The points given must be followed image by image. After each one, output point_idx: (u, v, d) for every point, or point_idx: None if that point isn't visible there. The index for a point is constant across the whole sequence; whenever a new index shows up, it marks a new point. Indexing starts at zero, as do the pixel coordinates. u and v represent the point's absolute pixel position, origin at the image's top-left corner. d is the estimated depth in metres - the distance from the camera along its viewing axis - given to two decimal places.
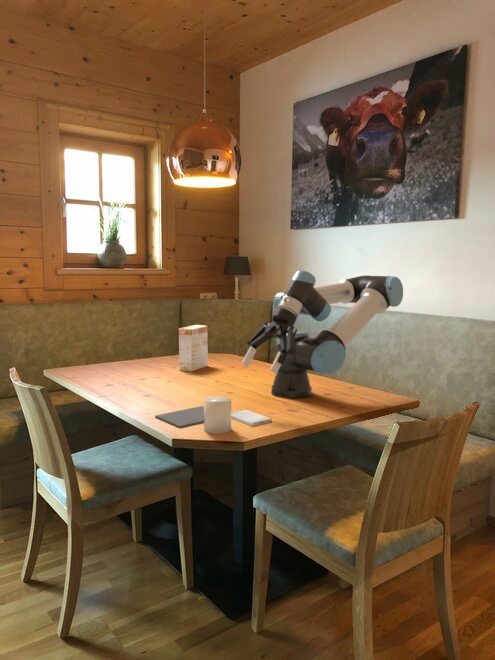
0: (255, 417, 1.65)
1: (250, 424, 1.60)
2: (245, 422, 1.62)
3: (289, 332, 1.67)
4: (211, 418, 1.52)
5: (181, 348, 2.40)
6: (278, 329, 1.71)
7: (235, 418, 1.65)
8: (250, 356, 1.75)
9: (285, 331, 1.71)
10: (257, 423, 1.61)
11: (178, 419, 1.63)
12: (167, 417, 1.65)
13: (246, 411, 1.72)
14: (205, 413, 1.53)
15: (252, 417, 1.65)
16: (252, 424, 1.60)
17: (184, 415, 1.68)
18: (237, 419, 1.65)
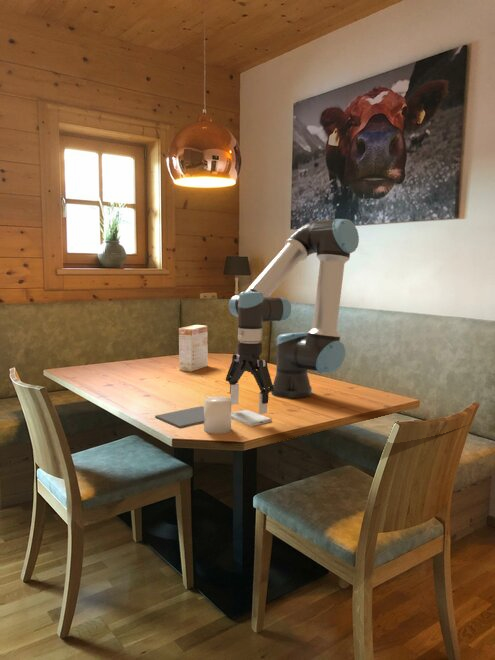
0: (254, 417, 1.65)
1: (250, 424, 1.60)
2: (245, 422, 1.62)
3: (260, 369, 1.59)
4: (211, 418, 1.52)
5: (181, 348, 2.40)
6: (249, 366, 1.62)
7: (235, 418, 1.65)
8: (235, 393, 1.70)
9: None
10: (257, 423, 1.61)
11: (178, 419, 1.63)
12: (167, 417, 1.65)
13: (246, 411, 1.72)
14: (205, 413, 1.53)
15: (252, 417, 1.65)
16: (252, 424, 1.60)
17: (184, 415, 1.68)
18: (237, 419, 1.65)
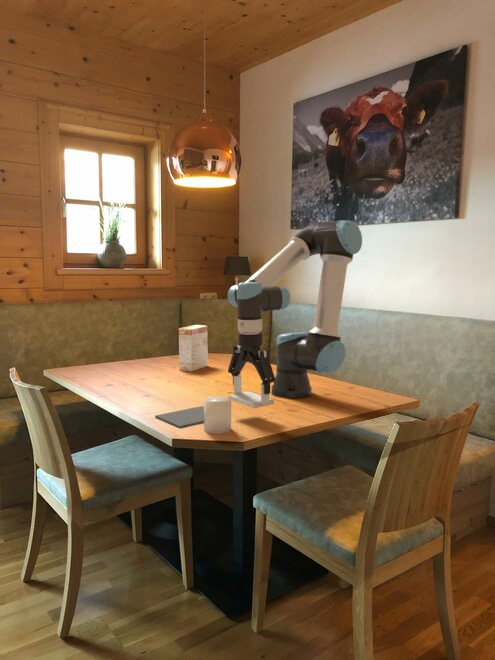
0: (256, 398, 1.64)
1: (252, 405, 1.59)
2: (247, 403, 1.61)
3: (261, 360, 1.59)
4: (211, 418, 1.52)
5: (181, 348, 2.40)
6: (250, 357, 1.62)
7: (237, 399, 1.65)
8: (238, 385, 1.71)
9: None
10: (259, 404, 1.60)
11: (178, 419, 1.63)
12: (167, 417, 1.65)
13: (248, 392, 1.71)
14: (205, 413, 1.53)
15: (254, 398, 1.64)
16: (254, 405, 1.59)
17: (184, 415, 1.68)
18: (239, 400, 1.64)
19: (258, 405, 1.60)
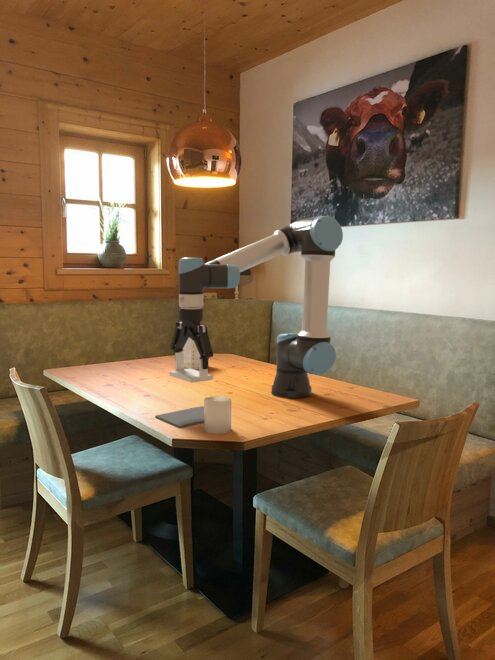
0: (196, 374, 1.64)
1: (189, 379, 1.59)
2: (185, 378, 1.61)
3: (200, 335, 1.59)
4: (211, 418, 1.52)
5: None
6: (189, 332, 1.62)
7: (176, 375, 1.65)
8: (180, 361, 1.71)
9: (197, 330, 1.63)
10: (197, 378, 1.60)
11: (178, 419, 1.63)
12: (167, 417, 1.65)
13: (189, 369, 1.71)
14: (205, 413, 1.53)
15: (193, 374, 1.64)
16: (191, 379, 1.59)
17: (184, 415, 1.68)
18: (178, 375, 1.64)
19: (196, 380, 1.60)
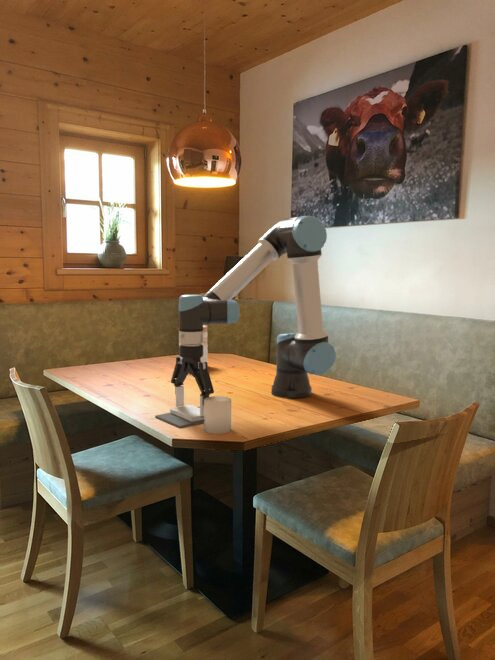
0: (196, 412, 1.66)
1: (190, 418, 1.61)
2: (186, 416, 1.63)
3: (200, 372, 1.60)
4: (211, 418, 1.52)
5: None
6: (190, 369, 1.63)
7: (177, 413, 1.67)
8: (180, 395, 1.72)
9: (198, 366, 1.64)
10: (197, 417, 1.62)
11: (178, 419, 1.63)
12: (167, 417, 1.65)
13: (190, 406, 1.73)
14: (205, 413, 1.53)
15: (194, 412, 1.66)
16: (192, 418, 1.61)
17: None
18: (179, 414, 1.66)
19: (196, 419, 1.62)
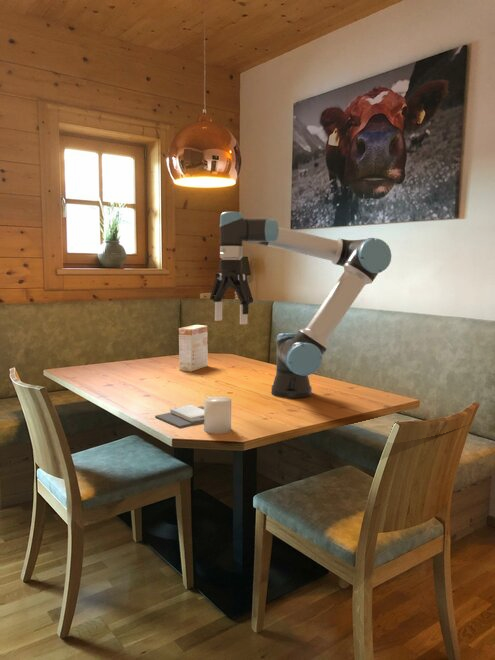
0: (196, 412, 1.66)
1: (190, 418, 1.61)
2: (186, 416, 1.63)
3: (240, 282, 1.72)
4: (211, 418, 1.52)
5: (181, 348, 2.40)
6: (230, 281, 1.75)
7: (177, 413, 1.67)
8: (219, 310, 1.84)
9: (237, 279, 1.76)
10: (197, 417, 1.62)
11: (178, 419, 1.63)
12: (167, 417, 1.65)
13: (190, 406, 1.73)
14: (205, 413, 1.53)
15: (194, 412, 1.66)
16: (192, 418, 1.61)
17: None
18: (179, 414, 1.66)
19: (196, 419, 1.62)
